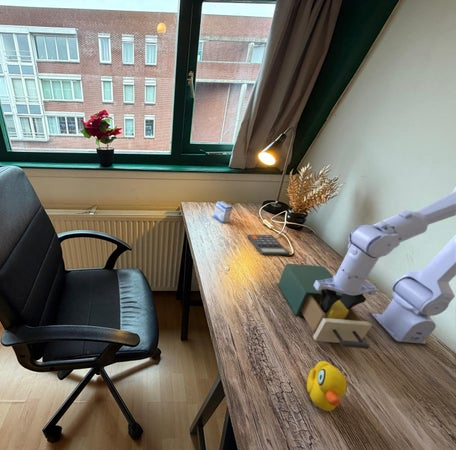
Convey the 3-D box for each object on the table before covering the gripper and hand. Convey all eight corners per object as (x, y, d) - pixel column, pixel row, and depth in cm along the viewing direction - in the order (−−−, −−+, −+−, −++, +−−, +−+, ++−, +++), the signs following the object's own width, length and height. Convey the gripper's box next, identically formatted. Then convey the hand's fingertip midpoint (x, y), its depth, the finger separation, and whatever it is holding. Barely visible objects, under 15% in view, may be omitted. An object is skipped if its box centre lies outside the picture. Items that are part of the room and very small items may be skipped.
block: (342, 321, 66) (349, 311, 64) (327, 320, 66) (333, 309, 64) (331, 307, 70) (337, 297, 68) (317, 306, 70) (323, 296, 68)
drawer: (370, 360, 61) (385, 341, 57) (324, 356, 61) (336, 337, 57) (331, 308, 76) (340, 290, 72) (293, 305, 76) (301, 287, 72)
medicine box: (213, 216, 131) (216, 201, 127) (219, 215, 133) (223, 200, 129) (222, 223, 125) (226, 207, 121) (229, 221, 127) (233, 206, 123)
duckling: (335, 434, 47) (358, 406, 43) (304, 418, 49) (322, 390, 45) (330, 382, 56) (349, 354, 52) (304, 370, 58) (319, 342, 54)
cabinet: (338, 318, 73) (351, 296, 69) (295, 315, 73) (306, 292, 69) (314, 287, 85) (324, 266, 81) (278, 284, 85) (286, 263, 81)
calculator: (272, 234, 115) (289, 253, 102) (271, 236, 115) (288, 254, 102) (248, 234, 114) (262, 252, 101) (247, 235, 114) (261, 254, 101)
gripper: (371, 263, 64) (349, 301, 71) (315, 259, 65) (298, 297, 71) (393, 281, 58) (366, 321, 64) (331, 276, 58) (311, 317, 65)
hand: (331, 310), depth 67 cm, fingers closed on block, 4 cm apart
